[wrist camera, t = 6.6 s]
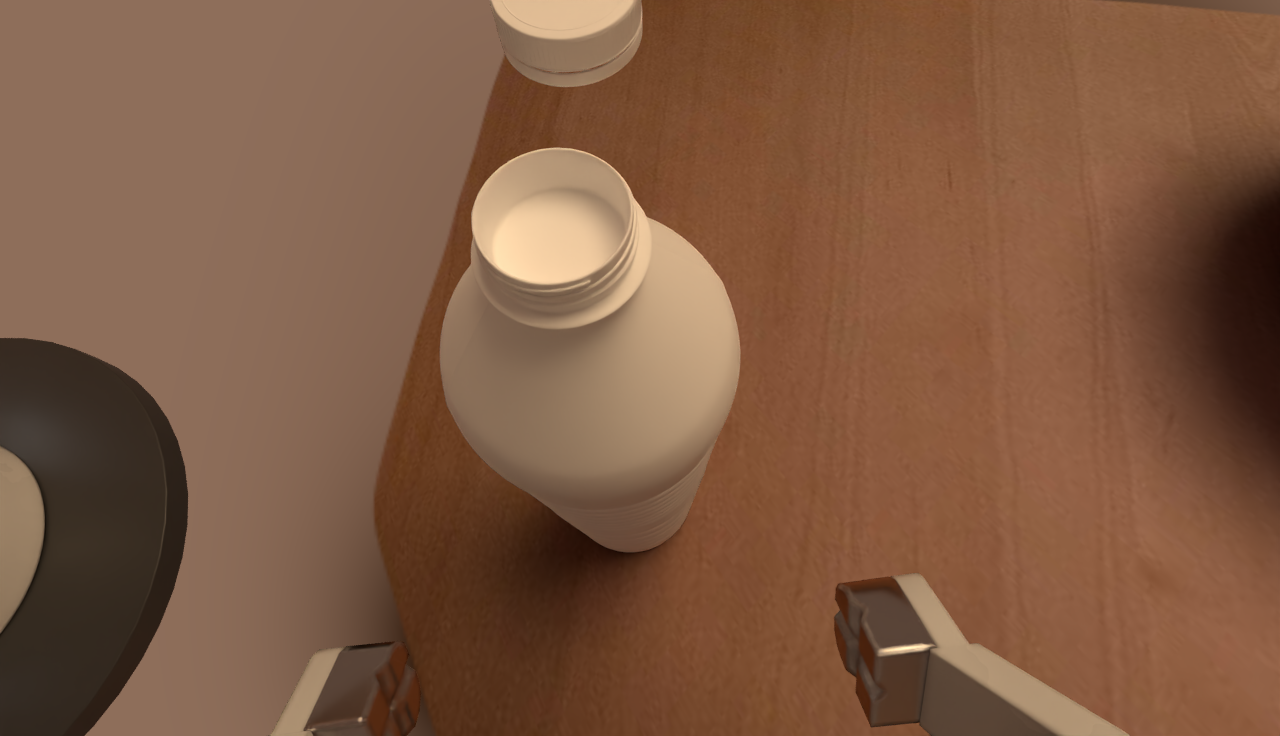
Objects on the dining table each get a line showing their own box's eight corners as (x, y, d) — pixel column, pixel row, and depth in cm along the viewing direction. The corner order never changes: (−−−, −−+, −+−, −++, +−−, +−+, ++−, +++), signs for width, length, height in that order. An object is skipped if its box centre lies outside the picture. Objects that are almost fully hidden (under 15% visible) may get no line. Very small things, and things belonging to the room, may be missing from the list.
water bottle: (694, 552, 30) (817, 441, 7) (567, 553, 30) (260, 445, 7) (689, 390, 33) (762, -77, 10) (573, 391, 33) (374, -66, 10)
